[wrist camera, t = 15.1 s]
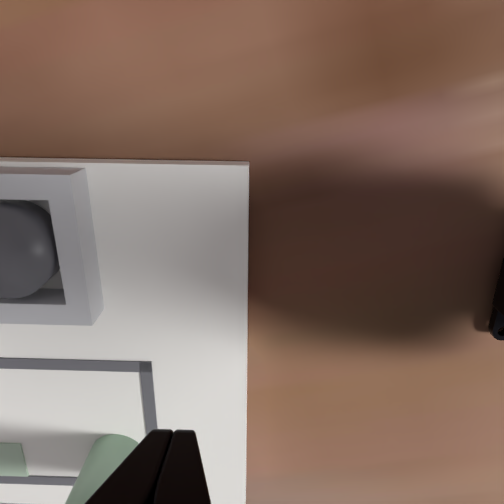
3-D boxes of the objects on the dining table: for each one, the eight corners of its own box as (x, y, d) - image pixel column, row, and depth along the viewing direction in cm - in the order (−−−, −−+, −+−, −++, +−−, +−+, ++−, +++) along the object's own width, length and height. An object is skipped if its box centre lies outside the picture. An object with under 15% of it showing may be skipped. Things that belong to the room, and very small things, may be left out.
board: (249, 161, 18) (247, 172, 16) (245, 495, 25) (244, 536, 23) (-208, 153, 18) (-276, 163, 16) (-80, 484, 26) (-114, 524, 24)
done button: (58, 198, 18) (40, 208, 16) (72, 283, 19) (57, 299, 18) (-36, 196, 18) (-61, 206, 16) (-15, 282, 19) (-37, 297, 18)
